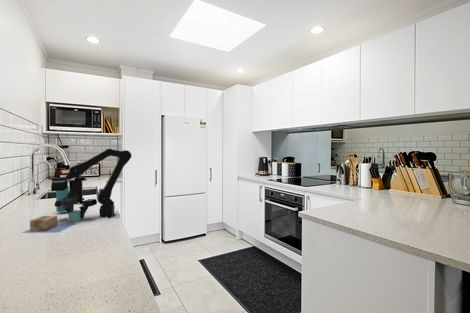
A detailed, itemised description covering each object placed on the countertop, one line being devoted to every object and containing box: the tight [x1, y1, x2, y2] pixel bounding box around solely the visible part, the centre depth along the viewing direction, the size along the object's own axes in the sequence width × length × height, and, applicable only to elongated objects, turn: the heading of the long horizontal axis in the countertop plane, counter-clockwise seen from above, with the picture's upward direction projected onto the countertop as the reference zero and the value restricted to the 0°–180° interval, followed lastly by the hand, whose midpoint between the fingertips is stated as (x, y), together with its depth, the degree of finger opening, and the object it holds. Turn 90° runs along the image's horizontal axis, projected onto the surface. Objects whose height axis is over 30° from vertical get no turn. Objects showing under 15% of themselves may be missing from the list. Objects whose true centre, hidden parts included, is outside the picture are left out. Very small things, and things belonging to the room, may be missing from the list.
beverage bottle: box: [55, 185, 69, 213], centre depth 139 cm, size 6×7×20 cm
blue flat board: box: [21, 223, 76, 234], centre depth 110 cm, size 16×12×1 cm
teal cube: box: [67, 209, 85, 222], centre depth 123 cm, size 5×5×5 cm
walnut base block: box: [29, 215, 58, 231], centre depth 109 cm, size 7×7×5 cm
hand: (76, 218), depth 124 cm, fingers closed on teal cube, 5 cm apart
